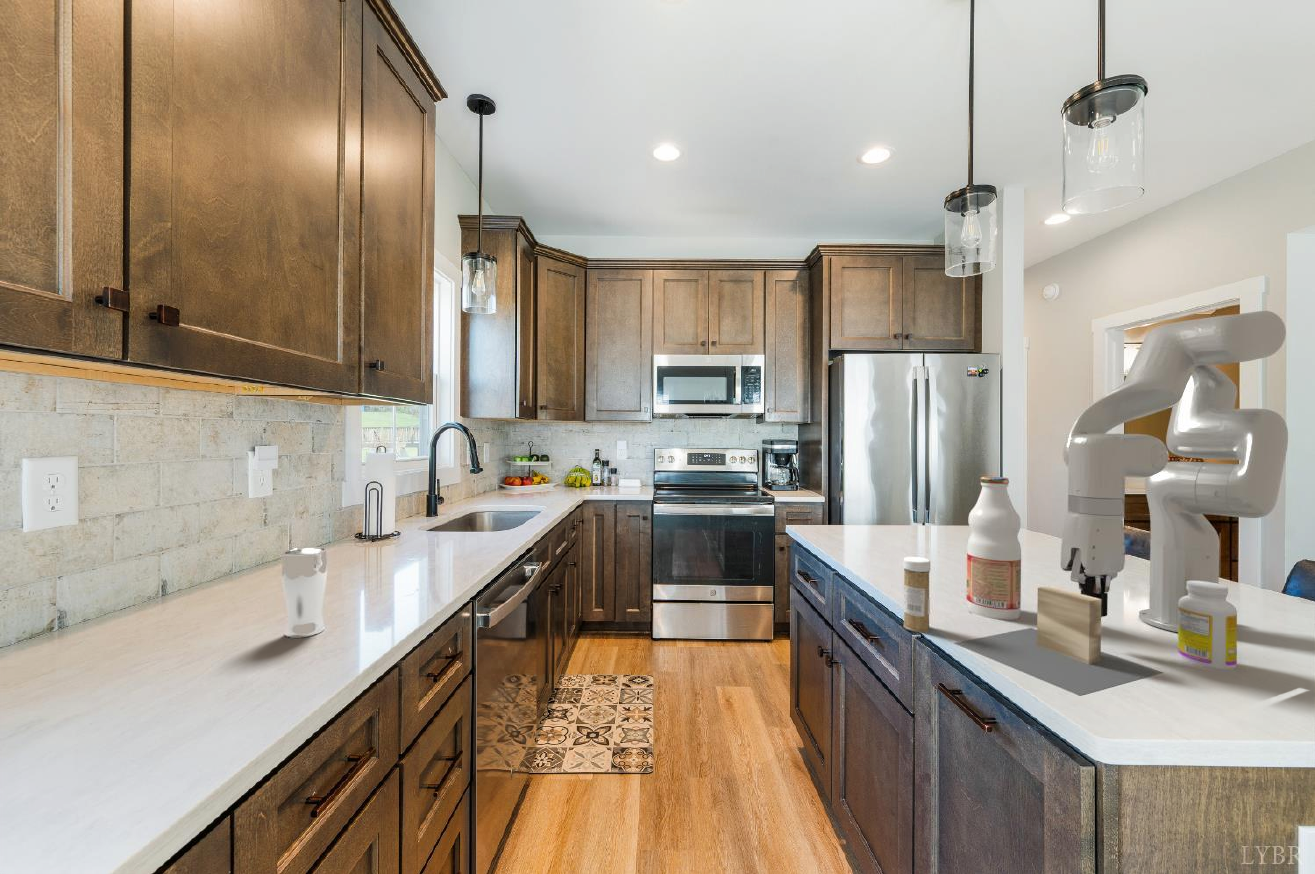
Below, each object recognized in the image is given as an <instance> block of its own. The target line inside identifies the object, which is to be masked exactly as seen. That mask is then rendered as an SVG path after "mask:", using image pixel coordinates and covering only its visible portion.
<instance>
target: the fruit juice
mask: <svg viewBox="0 0 1315 874" xmlns="http://www.w3.org/2000/svg"><path fill="white" fill-rule="evenodd" d="M979 480H980V485H981V490H980V494H979V496H978V498H977V501H976V503H975V505H974V506H973V507H972V509H971V510H970V512H969V513H968V517H967V518H968V519H967V520H968V521H967V522H968V527H969V530H970V535H969V537H968V539H967V544H966V610H967V611H968V612H969V613H971V614H975V615H977V616H981V617H983V618H988V619H995V620H1005V621H1006V620H1008V621H1010V620H1017V619H1019V618H1020V617H1021V609H1022V608H1021V603H1022V602H1021V601H1022V595H1021V594H1022V593H1021V592H1022V547H1021V543H1020V541H1019V537H1018V536H1019V533H1020V530H1021V525H1022V524H1021V517H1020V515H1019V514H1018V512H1017V511H1016V509H1015V508H1014V506H1013V503H1012V501H1011V498H1010V495H1009V493H1008V490H1007V489H1008V487H1009V483H1010V481H1009V478H1008V477H1002V476H981V477H980V479H979Z"/></svg>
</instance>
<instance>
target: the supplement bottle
mask: <svg viewBox="0 0 1315 874" xmlns="http://www.w3.org/2000/svg"><path fill="white" fill-rule="evenodd" d="M1186 589H1188V590H1187V591H1188V596H1184V597H1182V598H1180V599H1179V602H1178V632H1177V639H1178V640H1177V642H1178V643H1177V645H1178V646H1177V651H1178V656H1179V658H1180V659H1182V660H1184V661H1186V662H1189V663H1192V664H1195V665H1197V666H1202V667H1206V668H1211V669H1217V670H1225V671H1226V670H1235V669H1236V668H1237V664H1238V663H1237V662H1238V660H1237V659H1238V656H1237V655H1238V654H1237V653H1238V652H1237V650H1238V648H1237V644H1238V629H1237V628H1238V610H1237V608H1236V607H1235V605H1234V604H1233V603H1231V602H1229V601H1227V597H1228V595H1229V588H1228V586H1226V585H1224V584H1222V583H1221V584H1220V583H1219V584H1217V583H1211V582H1205V581H1187V587H1186Z"/></svg>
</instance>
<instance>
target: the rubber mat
mask: <svg viewBox="0 0 1315 874" xmlns="http://www.w3.org/2000/svg"><path fill="white" fill-rule="evenodd" d="M953 644H954V645H957V646H959V647H962V648H964V649H966V650H968V651H971V652H974V653H976V654H978V655H980V656H983V657H986V658H988V659H991V660H993V661H995V662H998V663H1000V664H1003V665H1005V666H1007V667H1010V668H1012V669H1014V670H1016V671H1019V672H1022V673H1024V674H1026V675H1029V676H1032V677H1034V678H1035V679H1038V680H1041V681H1043V682H1046V683H1048V684H1050V685H1053V686H1055V687H1057V688H1059V689H1060V688H1061V689H1062V690H1065V691H1067V692H1070V693H1072V694H1075V695H1077V696H1079V697H1081V696H1085V695H1087V694H1088V695H1089V694H1091V693H1095V692H1099V691H1102V690H1106V689H1107V690H1108V689H1110V688H1113V687H1117V686H1120V685H1125V684H1127V683H1132V682H1135V681H1139V680H1142V679H1146V678H1149V677H1153V676H1156V675H1160V674H1163V673H1164V671H1160V670H1158V669H1154V668H1151V667H1148V666H1145V665H1142V664H1140V663H1136V662H1133V661H1131V660H1128V659H1124V658H1121V657H1119V656H1116V655H1113V654H1109V653H1107V652H1104V651H1101V661H1100V662H1096V663H1092V664H1087V663H1084V662H1081V661H1078V660H1076V659H1073V658H1070V657H1067V656H1065V655H1062V654H1059V653H1056V652H1054V651H1051V650H1048V649H1045V648H1043V647H1040V646H1037V628H1036V629H1035V628H1032V627H1028V628H1023V629H1018V630H1015V631H1008V632H1004V633H999V634H998V633H997V634H993V635H987V636H982V637H977V638H972V639H967V640H963V641H957V642H953Z"/></svg>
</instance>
